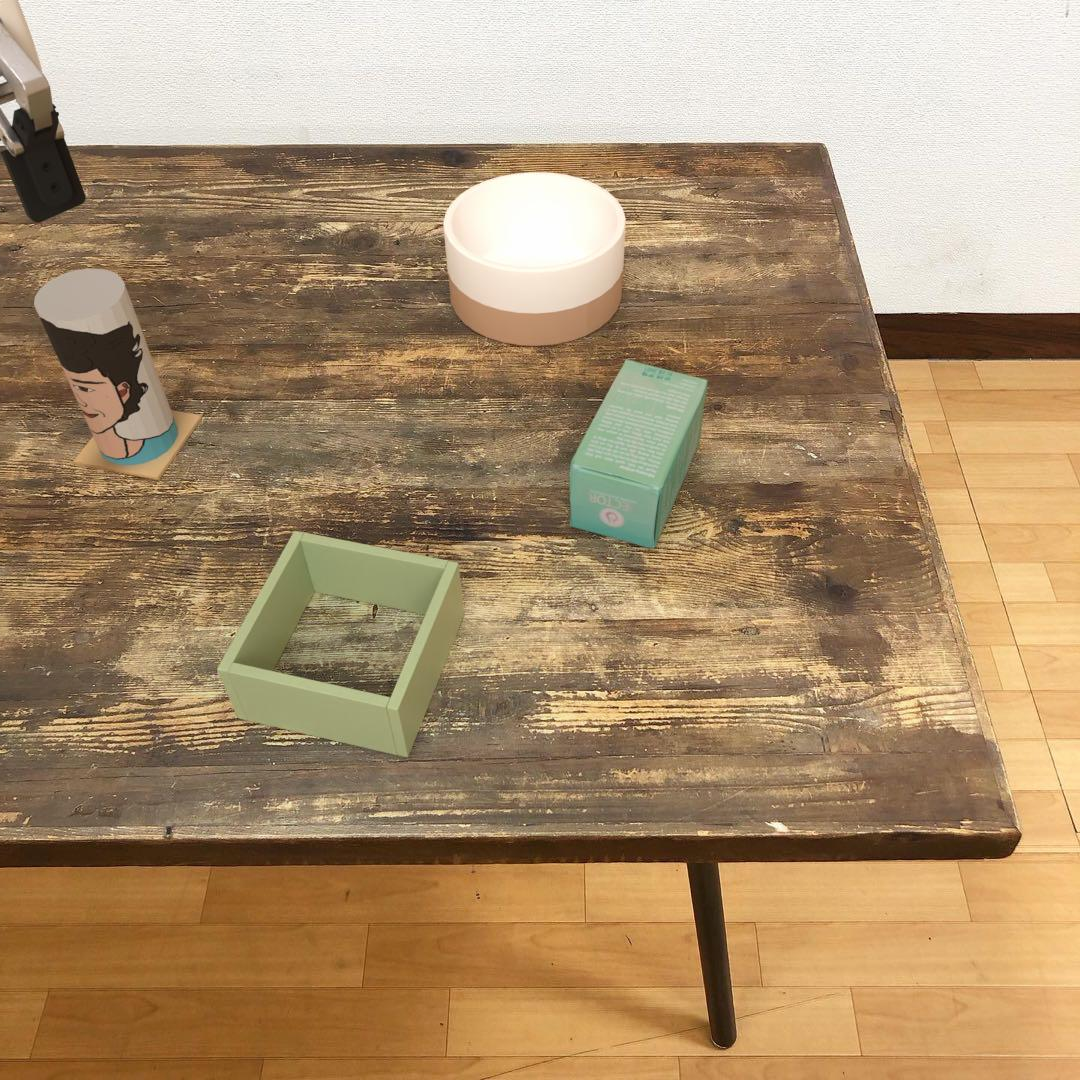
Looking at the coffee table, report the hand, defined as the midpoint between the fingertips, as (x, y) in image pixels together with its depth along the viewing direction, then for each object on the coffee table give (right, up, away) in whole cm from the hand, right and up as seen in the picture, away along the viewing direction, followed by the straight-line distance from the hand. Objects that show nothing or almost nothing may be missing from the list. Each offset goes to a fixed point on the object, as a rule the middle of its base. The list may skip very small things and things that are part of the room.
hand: (16, 178), depth 60 cm
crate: (+16, -29, +17) cm, 38 cm away
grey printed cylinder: (-5, -12, +33) cm, 35 cm away
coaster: (-5, -12, +33) cm, 35 cm away
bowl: (+29, +4, +46) cm, 55 cm away
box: (+38, -16, +28) cm, 50 cm away
